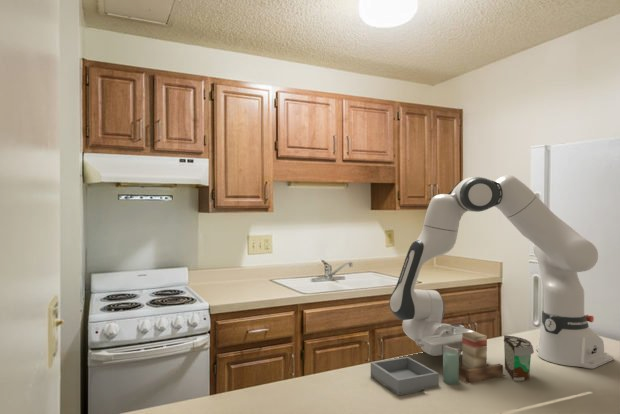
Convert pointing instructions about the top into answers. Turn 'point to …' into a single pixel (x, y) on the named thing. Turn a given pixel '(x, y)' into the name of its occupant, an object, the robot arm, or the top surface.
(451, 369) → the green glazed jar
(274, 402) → the top surface
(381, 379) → the grey tray
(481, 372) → the walnut rack
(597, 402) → the top surface
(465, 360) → the birch block
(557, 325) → the robot arm
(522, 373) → the food container
